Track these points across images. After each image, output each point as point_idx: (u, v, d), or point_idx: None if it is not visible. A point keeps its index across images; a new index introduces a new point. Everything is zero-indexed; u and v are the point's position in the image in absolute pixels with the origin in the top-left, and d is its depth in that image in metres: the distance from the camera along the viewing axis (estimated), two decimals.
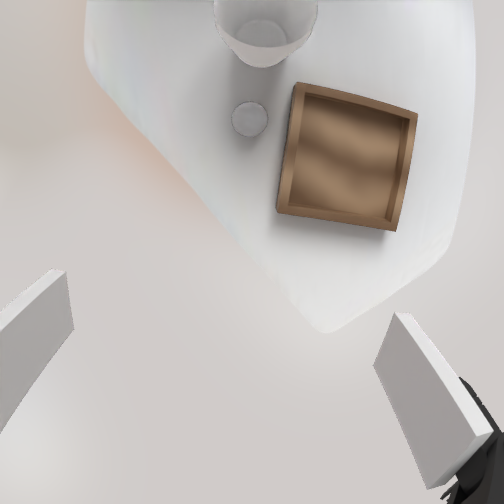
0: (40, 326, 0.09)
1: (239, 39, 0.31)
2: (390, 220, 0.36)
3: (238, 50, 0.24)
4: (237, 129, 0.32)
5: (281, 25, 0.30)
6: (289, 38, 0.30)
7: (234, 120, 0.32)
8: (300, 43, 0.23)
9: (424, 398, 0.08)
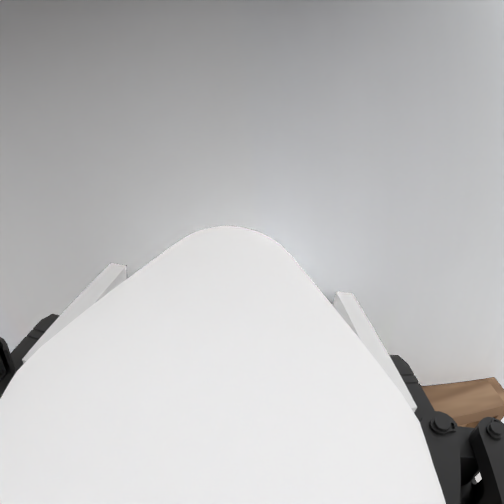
0: None
1: None
2: None
3: None
4: None
5: (288, 252, 0.12)
6: None
7: None
8: None
9: None
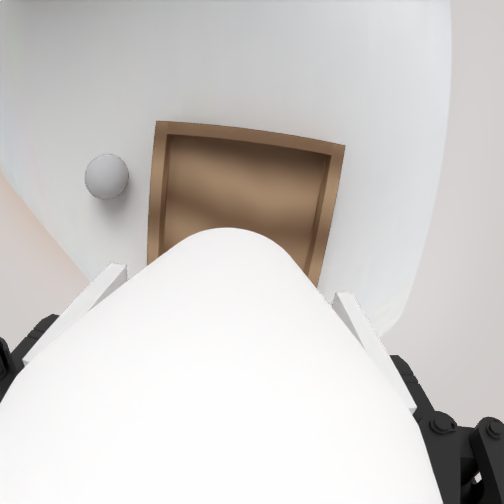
0: None
1: None
2: None
3: None
4: None
5: (288, 254, 0.12)
6: None
7: (85, 182, 0.24)
8: None
9: None
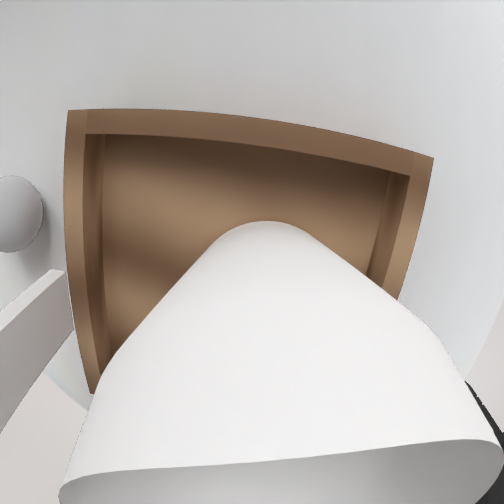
0: (40, 326, 0.09)
1: None
2: None
3: None
4: None
5: None
6: None
7: None
8: None
9: None
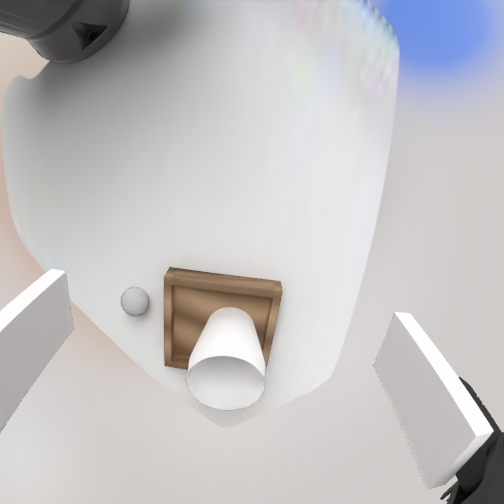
0: (40, 326, 0.09)
1: None
2: None
3: (209, 392, 0.36)
4: None
5: (247, 315, 0.42)
6: None
7: None
8: (253, 393, 0.35)
9: (424, 398, 0.08)
